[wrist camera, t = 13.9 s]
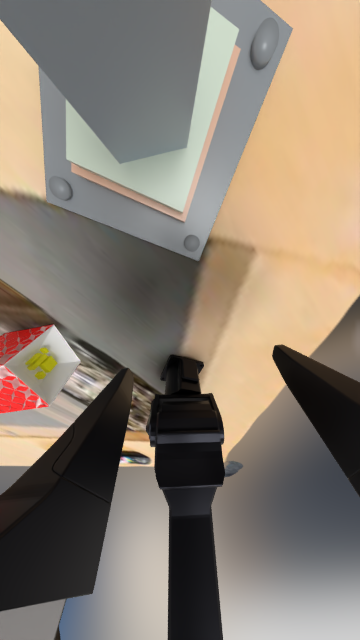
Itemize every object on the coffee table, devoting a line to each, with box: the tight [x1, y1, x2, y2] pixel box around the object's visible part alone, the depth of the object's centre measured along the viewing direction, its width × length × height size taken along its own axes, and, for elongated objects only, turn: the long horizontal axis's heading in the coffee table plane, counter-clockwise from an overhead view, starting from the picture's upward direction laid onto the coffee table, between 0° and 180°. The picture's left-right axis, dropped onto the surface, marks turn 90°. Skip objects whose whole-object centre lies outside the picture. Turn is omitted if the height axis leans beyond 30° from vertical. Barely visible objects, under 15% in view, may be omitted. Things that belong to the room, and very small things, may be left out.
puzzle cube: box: [0, 324, 81, 413], centre depth 22 cm, size 8×8×8 cm
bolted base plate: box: [39, 0, 293, 261], centre depth 11 cm, size 16×16×4 cm
